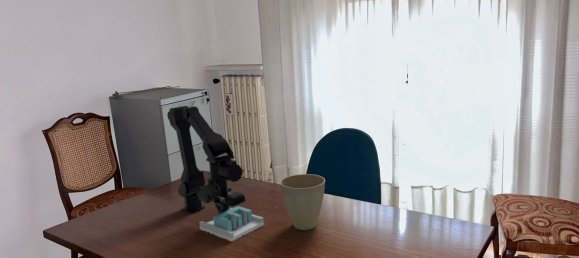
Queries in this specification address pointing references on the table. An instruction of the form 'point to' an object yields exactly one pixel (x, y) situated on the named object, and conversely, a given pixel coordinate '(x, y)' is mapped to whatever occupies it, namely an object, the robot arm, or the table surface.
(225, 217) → the teal notched block
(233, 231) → the board
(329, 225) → the table surface
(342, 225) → the table surface
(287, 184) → the plant pot
